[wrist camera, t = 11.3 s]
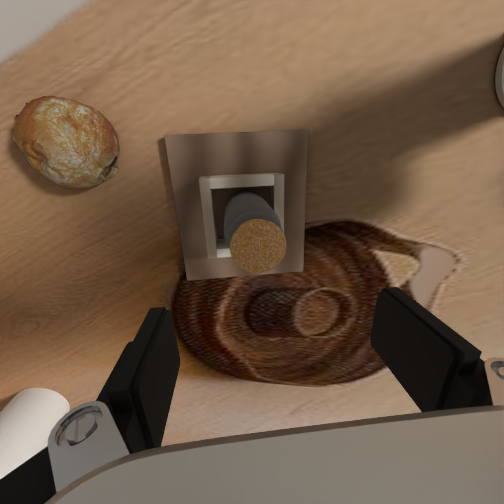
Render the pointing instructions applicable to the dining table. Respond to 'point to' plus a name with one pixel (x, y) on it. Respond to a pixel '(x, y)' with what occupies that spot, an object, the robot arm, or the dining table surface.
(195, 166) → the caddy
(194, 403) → the dining table surface
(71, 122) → the bread roll
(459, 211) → the dining table surface
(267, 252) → the bottle
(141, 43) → the dining table surface
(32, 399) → the cylinder container
